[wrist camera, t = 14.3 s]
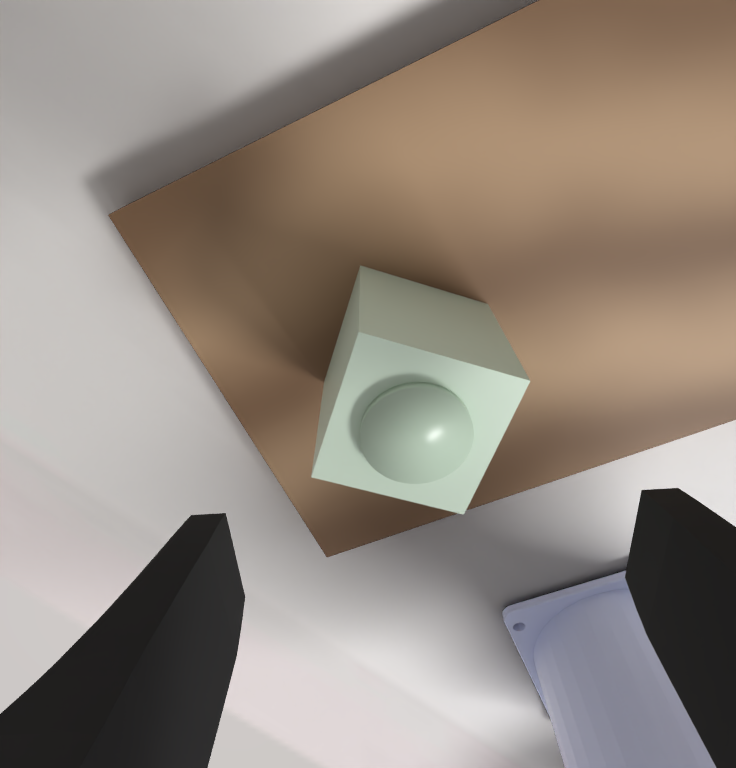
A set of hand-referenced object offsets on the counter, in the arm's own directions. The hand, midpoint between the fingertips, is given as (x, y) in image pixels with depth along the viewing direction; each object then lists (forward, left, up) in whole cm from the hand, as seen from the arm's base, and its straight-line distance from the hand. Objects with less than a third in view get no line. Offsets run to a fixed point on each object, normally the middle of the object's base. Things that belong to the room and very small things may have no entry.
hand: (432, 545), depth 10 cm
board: (0, -4, -10) cm, 11 cm away
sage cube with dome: (0, 0, -9) cm, 9 cm away
